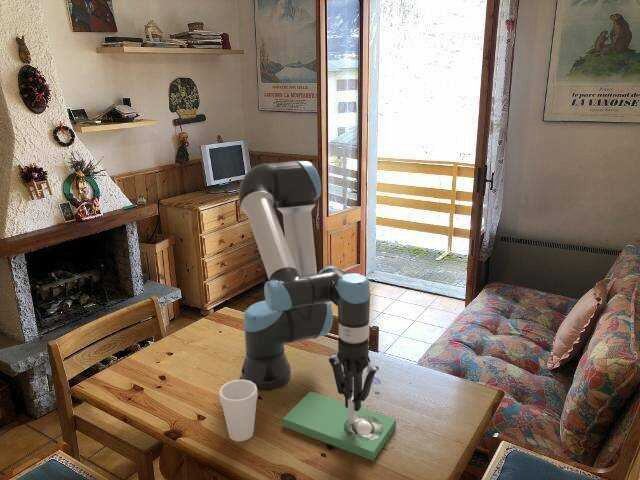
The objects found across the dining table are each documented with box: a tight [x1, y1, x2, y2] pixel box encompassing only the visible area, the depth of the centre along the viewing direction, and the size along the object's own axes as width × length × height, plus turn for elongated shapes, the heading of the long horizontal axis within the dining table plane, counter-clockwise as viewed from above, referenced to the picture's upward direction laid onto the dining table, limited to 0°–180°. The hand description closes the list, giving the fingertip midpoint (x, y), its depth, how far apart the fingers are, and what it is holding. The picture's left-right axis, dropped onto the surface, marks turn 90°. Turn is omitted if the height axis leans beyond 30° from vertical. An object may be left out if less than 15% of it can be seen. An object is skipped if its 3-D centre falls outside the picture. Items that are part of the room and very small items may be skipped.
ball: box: [355, 420, 373, 435], centre depth 133 cm, size 4×4×4 cm
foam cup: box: [218, 378, 259, 442], centre depth 133 cm, size 10×9×13 cm
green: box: [282, 391, 397, 461], centre depth 136 cm, size 26×14×2 cm, turn 60°
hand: (352, 419), depth 134 cm, fingers closed
